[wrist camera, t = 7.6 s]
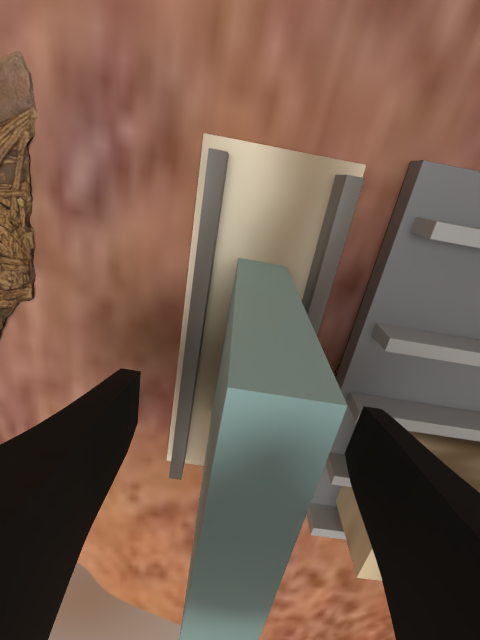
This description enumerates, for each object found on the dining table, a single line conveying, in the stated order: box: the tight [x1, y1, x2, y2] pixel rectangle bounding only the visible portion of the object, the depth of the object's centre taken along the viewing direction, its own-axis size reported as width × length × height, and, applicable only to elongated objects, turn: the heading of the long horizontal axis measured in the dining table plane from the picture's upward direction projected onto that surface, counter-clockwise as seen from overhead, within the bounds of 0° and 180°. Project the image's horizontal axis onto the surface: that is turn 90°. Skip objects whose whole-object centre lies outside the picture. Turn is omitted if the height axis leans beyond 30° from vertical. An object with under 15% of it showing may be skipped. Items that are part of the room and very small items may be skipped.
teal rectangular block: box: [180, 258, 347, 640], centre depth 11 cm, size 8×2×9 cm, turn 170°
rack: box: [307, 160, 480, 539], centre depth 16 cm, size 10×19×2 cm, turn 170°
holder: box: [167, 133, 366, 480], centre depth 15 cm, size 6×16×2 cm, turn 170°
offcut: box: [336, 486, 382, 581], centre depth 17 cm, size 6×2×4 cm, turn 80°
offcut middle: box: [408, 431, 480, 492], centre depth 16 cm, size 7×2×4 cm, turn 80°
